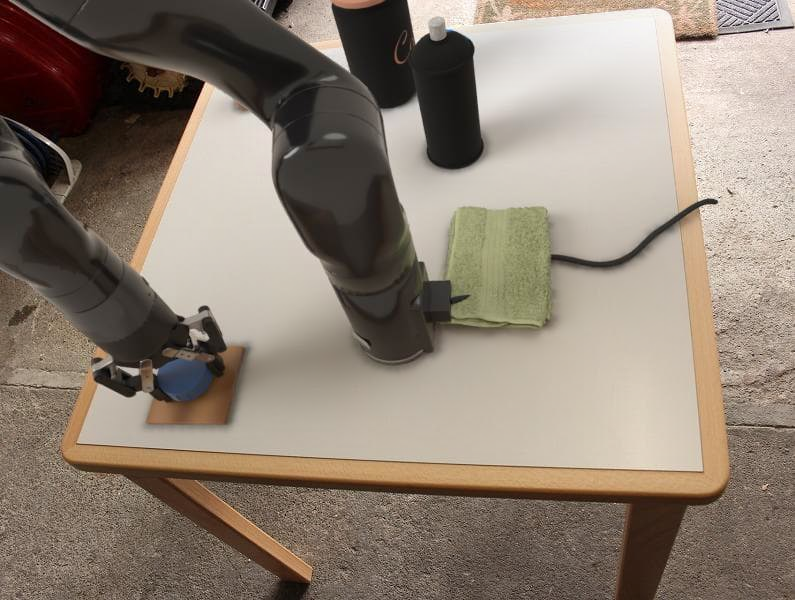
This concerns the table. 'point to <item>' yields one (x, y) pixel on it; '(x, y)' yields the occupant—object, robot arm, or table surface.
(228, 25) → the robot arm
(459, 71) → the aerosol can
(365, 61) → the coffee jar
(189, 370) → the jar lid
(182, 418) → the mat
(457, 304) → the washcloth
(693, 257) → the table surface
